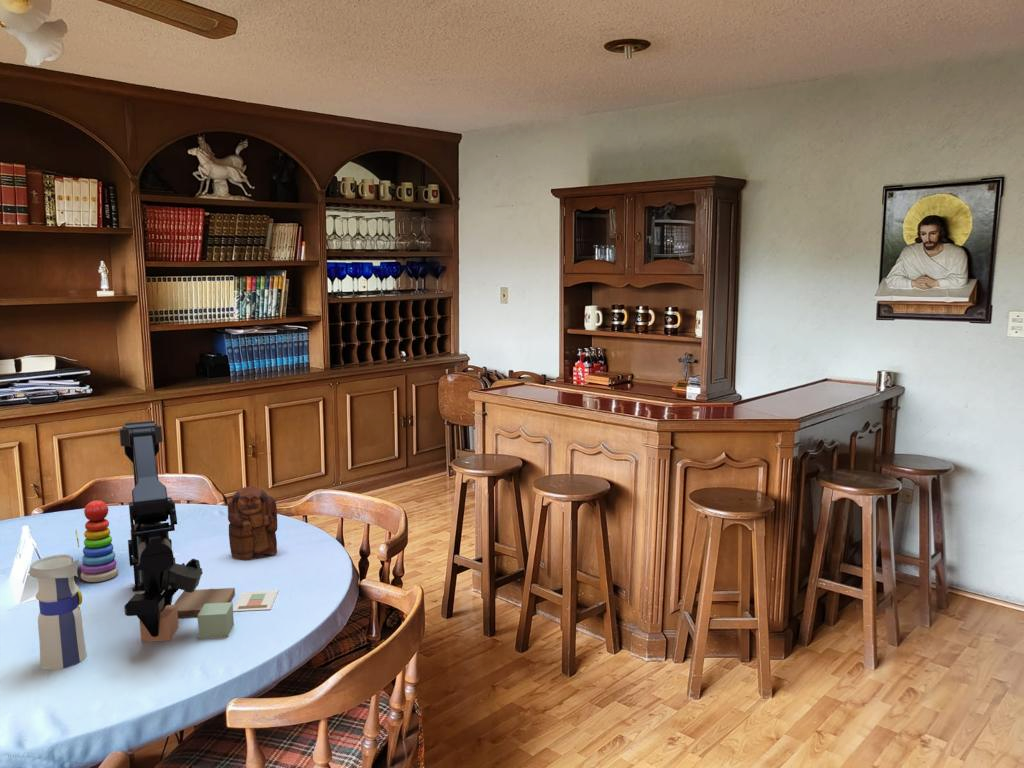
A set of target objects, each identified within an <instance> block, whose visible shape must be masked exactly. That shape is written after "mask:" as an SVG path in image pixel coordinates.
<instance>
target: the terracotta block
mask: <svg viewBox="0 0 1024 768" xmlns="http://www.w3.org/2000/svg"><path fill="white" fill-rule="evenodd" d="M139 627H140V629H139V631H140V640H141V643H143V642H144V643H145V642H160V641H161V642H163V641H171V640H172V638H173V637H174V635H175V634H176V633H177V632H178V629H179V628H180V627H179V618H178V612H177V605H174V604H171V605H167V606H166V607H165V608H164V610H163V611H162V612H161V613H160V624H159V634H158V636H157V637H152V636H151V634H150V633H149V632H148V630H147V629H146V627H145V626H144V624H143V623H142V622H141V620H140V619H139Z"/></svg>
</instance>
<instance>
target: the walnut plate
mask: <svg viewBox="0 0 1024 768" xmlns="http://www.w3.org/2000/svg"><path fill="white" fill-rule="evenodd" d="M235 595H236V588H235V587H226V588H225V587H224V588H205V589H195V591H194V592H192V593H189V592H185V590H182V593H181V594H180V595H179V597H178V598H177V600H175V602H174V604H173V605H177V612H178V619H179V618H183V619H184V618H195V617H196V618H198V614H199V612H200V611H201V609H202V607H203V606H204V604H210V603H229V602H232V601H233V599H234V597H235Z"/></svg>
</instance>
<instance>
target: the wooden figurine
mask: <svg viewBox="0 0 1024 768" xmlns="http://www.w3.org/2000/svg"><path fill="white" fill-rule="evenodd" d="M277 509H278V507H277V503H276V499H275V498H274V497H273V496H270V495H268V494H267V492H266V491H265V490H264V489H262V488H261V487H257V486H245V487H242V488H239V489H238V490H237V491H236V492H235V493H234V494H233V495H232V497H231V499H230V500H229V501H228V502H227V521H228V522H229V524H228V540H229V548H230V553H231V557H232V558H233V559H235V560H239V561H250V560H251V561H252V560H253V559H254V558H258V559H261V558H266V557H267V556H276V555H277V553H278V541H277V535H276V532H277V530H278V510H277Z"/></svg>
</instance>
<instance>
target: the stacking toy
mask: <svg viewBox="0 0 1024 768" xmlns="http://www.w3.org/2000/svg"><path fill="white" fill-rule="evenodd" d="M83 513H84V516H85V518H86V519H87V520H88V521H86V523H85V524H84V528H85V529H86V530H85V531H84V533H83V536H84V538H85V539H84V540H83V545H84V546H83V549H82V555H83V556H82V557H81V560H82V561H81V562H82V563H81V566H80V569H81V570H80V571H81V572H80V578H81V579H82V580H83V581H85V582H88V583H99V582H104V581H108V580H111V579H113V578H115V577H116V576H117V575H118V573H119V568H118V567H117V560H116V559H115V558H116V553H115V551H114V545H113V543H112V542H113V537H112V536H111V535H110V534H111V529H110V528H109V525H110V522H109V520H108V519H107V518H106V517H107V516H108V515H109V507H108V505H107V503H106V502H104V501H103V500H100V499H99V500H92V501H90V502H88V503H87V504H86V506H85V507H84V510H83Z"/></svg>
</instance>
